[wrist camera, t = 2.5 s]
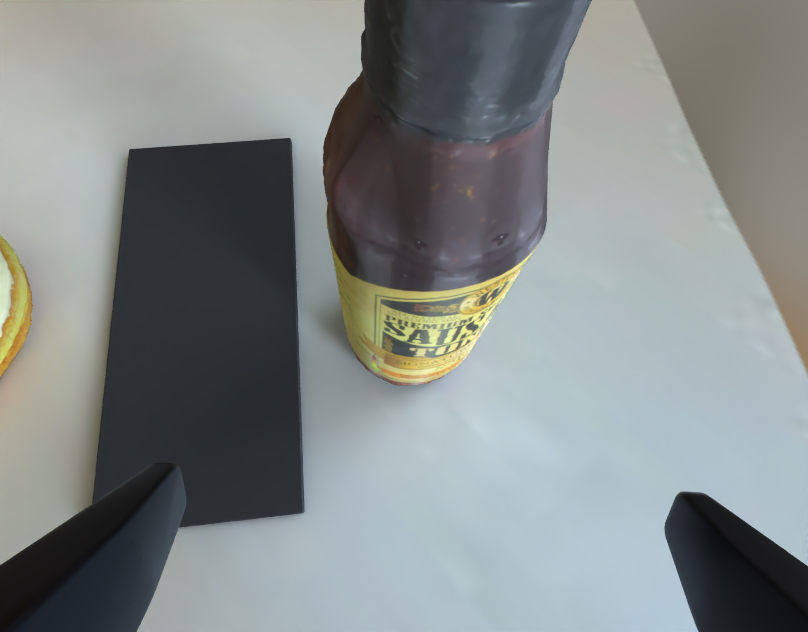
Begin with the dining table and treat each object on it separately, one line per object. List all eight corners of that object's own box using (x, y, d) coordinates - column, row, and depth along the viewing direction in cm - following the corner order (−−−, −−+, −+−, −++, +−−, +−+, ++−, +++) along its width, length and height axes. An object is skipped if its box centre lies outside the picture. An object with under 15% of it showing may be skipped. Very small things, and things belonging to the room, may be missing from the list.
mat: (304, 512, 21) (303, 513, 20) (93, 536, 20) (88, 537, 20) (291, 142, 27) (290, 137, 27) (132, 153, 27) (129, 149, 27)
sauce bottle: (386, 415, 22) (355, 52, 4) (326, 307, 24) (97, -310, 5) (501, 348, 24) (920, -177, 5) (436, 251, 25) (559, -412, 7)
